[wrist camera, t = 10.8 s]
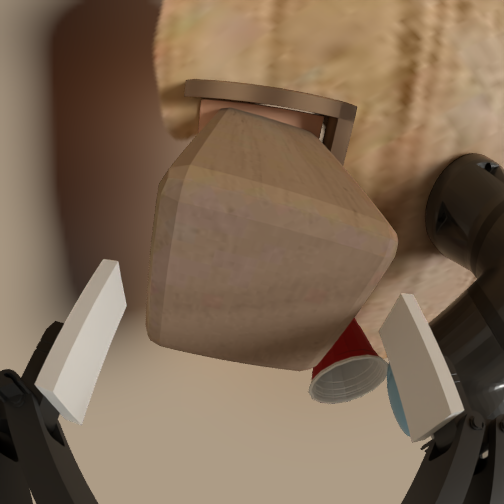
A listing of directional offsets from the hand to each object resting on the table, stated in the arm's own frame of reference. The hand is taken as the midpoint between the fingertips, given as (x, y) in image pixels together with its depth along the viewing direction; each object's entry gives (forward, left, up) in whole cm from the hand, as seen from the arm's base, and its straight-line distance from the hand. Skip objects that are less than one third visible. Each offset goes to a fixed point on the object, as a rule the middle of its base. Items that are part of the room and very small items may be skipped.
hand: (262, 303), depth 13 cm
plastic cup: (-24, +11, -20) cm, 33 cm away
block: (0, 0, -20) cm, 20 cm away
